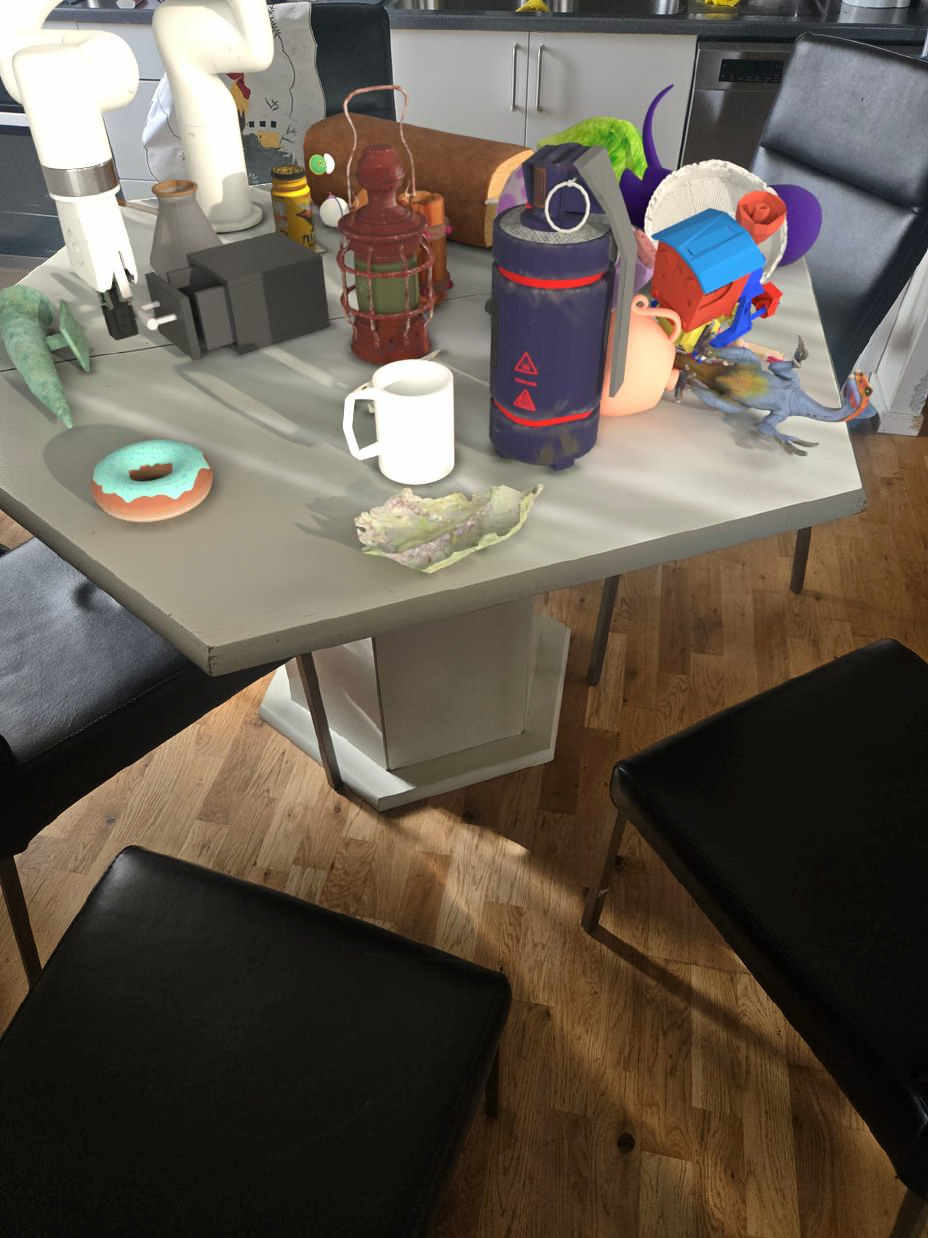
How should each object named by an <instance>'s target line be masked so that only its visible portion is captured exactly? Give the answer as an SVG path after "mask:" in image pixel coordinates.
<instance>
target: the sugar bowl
mask: <svg viewBox="0 0 928 1238" xmlns="http://www.w3.org/2000/svg"><path fill="white" fill-rule="evenodd" d="M638 302H642V303H643V304H642V306H638V305H636V304H637V303H638ZM649 303H650V302H649V299H648V297H647V296H645V295H644V294H642V293H641V294H634V295H633V297H632V307H631V317H630V326H629V336H628V346H627V356H626V366H625V376H624V383H623V384H622V386H621V388H620V390H619V391H618V393H617V394H616V395H615V397H614V398H611V397H609V386H610V375H611V364H612V353H613V342H614V331H615V320H616V309H614V310H612V311H611V319H610V328H609V337H608V346H607V355H606V364H605V372H604V381H603V390H602V399H601V401H600V414H599V416H601V417H602V416H603V417H624V416H629V415H633V414H637V413H641V412H644V411H648V410H651V409H652V408H654V407H656V406H657V404H658V403H659V401H660V399H661V398H662V395H663V393H664V391H665V389H667V390H668V391H670V392H672V391H673V390H675V385H676V383H677V380H678V377H679V373H680V371H679V370H678V369H672V366H673V362H674V358H675V352H676V348H675V346H674V344H673V342H674V341H675V340H676V339H677V337H678V336H679V334H680V331H681V320H680V317H679V315H678V314H677V313H676V312H675V311H673V310H670V309H666V308H651V307H649ZM650 316H659V317H666V318H669V319H672V320H673V321H674V323H675V327H674V330H673V332H672V333H671V335H670V336H668V335H667V334H666V333H665V331H664V330H663V329H662V328H661V327H660V325H659V324H658V323H657V322H656V321H655V320H654V319H653V318H651V317H650Z"/></svg>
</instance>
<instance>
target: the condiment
mask: <svg viewBox="0 0 928 1238" xmlns="http://www.w3.org/2000/svg"><path fill="white" fill-rule="evenodd" d="M305 173H306V172H305V167H304V166H301V165H298V164H281V165H275V166H274V167H272V168H271V170H270V178H271V181H270V183H271V185H272V187H271V189H270V192H269V193H270V199H271V206H272V213H273V221H274V228H275V232H276V231H279V232H281V233H282V234H284V235H286V236H288V237H290V238H291V239H293V240H295V241H297V242H298V243H300V244H302V245H304V246H306V247H307V248H309V249H311V250H313V251H315V252H316V253H318V254H320V253H321V254H322V253H323V252H326V251H327V250H326V249H325V248H323V247H322V246H319V244H316V234H315V231H316V230H315V225H314V224H315V223H314V216H313V215H314V214H313V207H312V200H311V194H310V188H309V187H308V185H307V180H306V174H305Z"/></svg>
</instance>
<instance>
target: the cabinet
mask: <svg viewBox="0 0 928 1238" xmlns="http://www.w3.org/2000/svg"><path fill="white" fill-rule="evenodd" d="M186 256H187V260H188V265H189V266H192V265H196V266H197V267H199V268H200V269H202V270H203V271H205V272H206V273H207V274H209V275H210V276H212V277H213V278H215V279H216V280H218V281H219V282H221V283H222V284H224V285H225V286H226V290H227V295H228V301H229V306H230V312H231V317H232V322H233V328H234V333H235V338H236V342H234V343H231V344H227V345H226V346H229V347H230V348H231V349H233V350H234V351H235V352H237V353H238V354H239V355H244V354H247V353H250V352H254V351H256V350H260V349H263V348H267V347H269V346H273V345H275V344H278V343H282V342H285V341H288V340H292V339H294V338H297V337H301V336H305V335H307V334H310V333H313V332H316V331H319V330H320V331H321V330H323V329H326V328H329V327H330V326H331V324H330V316H329V307H328V306H329V305H328V297H327V289H326V278H325V269H324V262H323V261H324V260H323V255H322V254H320V253H316V252H315V251H313V250H311V249H309V248H307V247H306V246H304V245H302V244H300V243H298V242H297V241H295V240H293V239H291V238H290V237H288V236H286V235H284V234H282V233H281V232H279V231H276V230H275V231H272V232H268V233H264V234H259V235H256V236H252V237H248V238H244V239H240V240H237V241H231V242H228V243H225V244H224V243H223V245H220V246H216V247H212V248H208V249H204V250H200V251H196V252H193V253H189V254H186Z"/></svg>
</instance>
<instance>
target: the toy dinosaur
mask: <svg viewBox="0 0 928 1238" xmlns="http://www.w3.org/2000/svg"><path fill="white" fill-rule="evenodd" d="M714 325H715V319H711V323H710V324H707V325H706V326H705V328H704V330H703V332H702V333H701V335H700V336H699V338H698V340H697V342H696V344H695V346H694V351H698V354H697V355H696V356H695V359H700V357H701V356H704V357H707V359H713V358H715V357H716V358H715V359H717V358H719V359H722V360H725V361H726V362H727V363H729V364H730V363H731V364H733V365H727V366H724V365H721V364H717V365H716V363H715V364H711V363H712V362H711V363H710V362H707V361H705V360H703V361H702V362H700V363H699V364H698V363H697V362H696V360H695V359H694V358H693V357H692V356H689V354H687V353H686V352H684V353H683V351H682V352H679V351H675V358H674V362H673V366H672V369H678V370H679V377H678V380H677V383H676V385H675V387H674V399H676V403H677V404H681V403H682V401H683V391H687V392H692V393H694V394H695V395H696V397H698V399H699V400H700V401H702V402H703V403H704V404H705V405H707V406H709V407H711V408H716V409H717V410H719V411H722V412H725V413H727V414H733V415H735V414H740V413H742V412H744V411H746V410H749V409H755V410H758V411H768V412H769V414H767V415H765V416H764V417H762V420H761V421H760V423H758V425H757V428H758V430H759V431H760V432H761V433H763V434H764V435H765V436H767V437H769V438H773V440H774V441H775V442H776V443H778V444H779V446H780V448H781V449H783V451H784V452H785V454H787V455H789V456H792V457H793V456H794V455H796V456H799V457H807V456H808V455H809V451H807V450H804V449H800V448H799V447H797V446H800V447H802V448H817V447H819V446H820V445H821V443H820V442H813V441H812V442H811V441H806V440H804V439H803V440H802V439H800V438H798V436H793V435H787V434H785V433H781V432H779V431H778V430H777V429H776V428H775V427H776V426H777V425H778V424H780V423H782V422H784V421H786V420H787V419H788V418H789V417H794V416H795V417H803V418H809V419H811V420H815V421H818V422H825V423H826V422H827V423H844V422H849V421H851V420H853V419H855V418H856V417H858V416H859V415H860V414H862V413H863V412H864V411H865V409H866V408H867V406H868V404H869V400H870V398H871V396H872V395H873V393H874V388H873V387H872V386H871V384H870V383H869V380H868V378H867V376H866V374H865V372H864V371H863V370H861V369H860V368H858V369H856V368H855V369H854V370H853V373H850V374H848V375H847V378H846V383H845V385H844V386H843V388H842V394H843V395H842V396H843V398H844V399H845V400H844V403H843V405H842V406H841V407H830V406H825V405H824V404H822V403H820V402H818V401H817V400H815V399H814V398H812V397H811V396H810V395H809V394H807V393H806V391H805V390H803V389H802V388H801V380H800V378H799V375H798V373H796V372H795V371H794V370H793V369H797V370H798V369H799V370H800V369H801V368H802V361H806V360H807V359H808V358H809V356H810V350H809V348H808V347H807V346H806V341H805V340H806V339H805V338H804V336H803V335H802V334H801V333H796V334H797V338H798V345H797V347H796V349H795V352H794V355H793V357H791V360H783V361H776V362H773V363H771V364H770V363H769V365H768V366H767V369H768V370H769V371H771V372H772V373H771V372H769V371H766V370H763V367H762V362H761V360H759V358H758V356H757V355H756V354H754V353H753V352H752V351H751V350H750V349H747V348H741V347H736V346H730V347H722V348H714V347H711V346H709V344H708V343H709V342H710V341H711V340H713V339H714V338H715V337H716V335H717V333H718V332H717V331H714V332H711V331H712V329H713V327H714ZM694 378H695V379H696V380H695V379H694ZM698 381H699V382H700V383H702V384H703V385H704V386H702V385H701V384H700V383H699V382H698ZM792 443H793V444H792ZM794 444H795V445H797V446H795V445H794Z"/></svg>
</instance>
